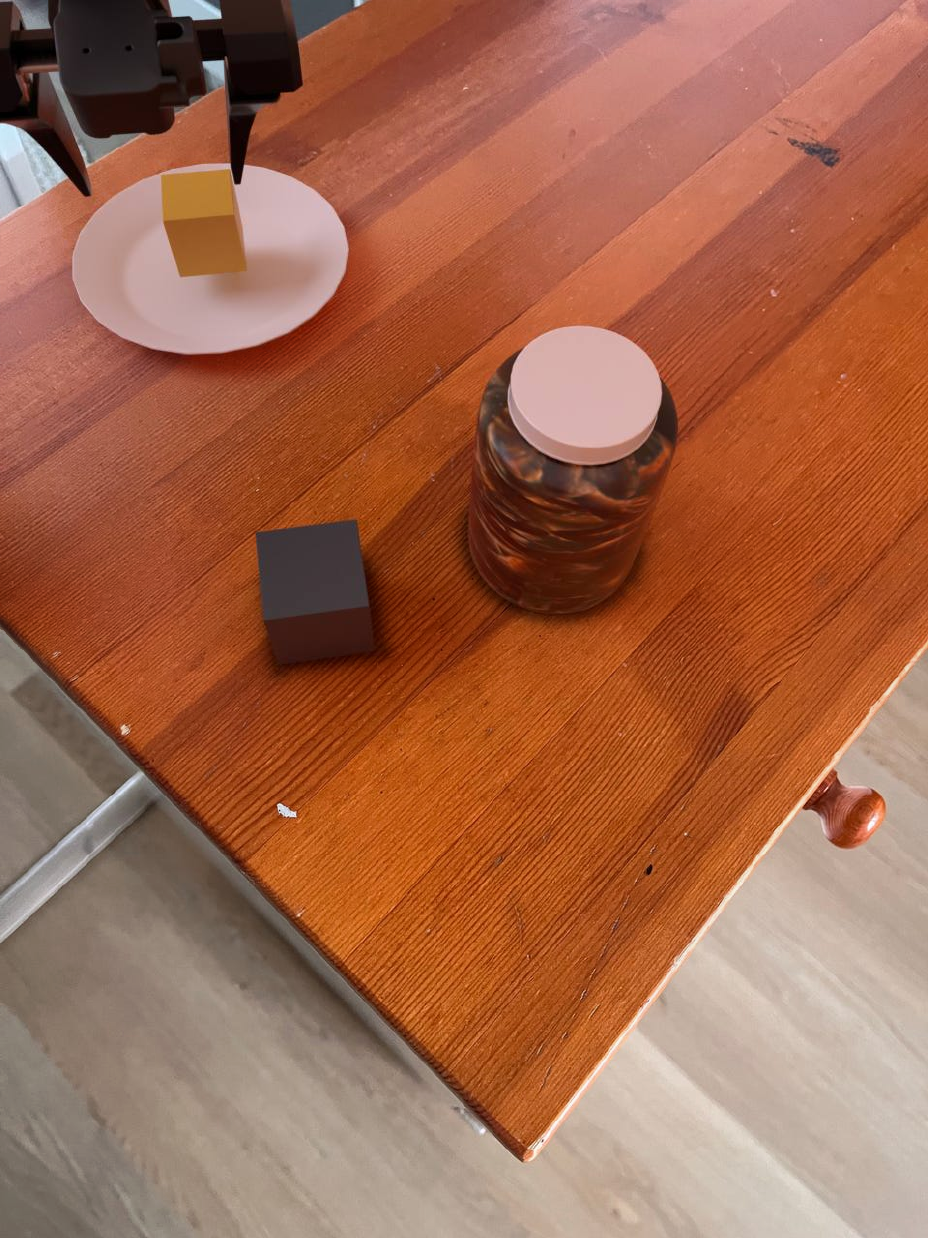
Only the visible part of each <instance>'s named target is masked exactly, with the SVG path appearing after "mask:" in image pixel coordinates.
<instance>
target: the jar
mask: <svg viewBox="0 0 928 1238" xmlns="http://www.w3.org/2000/svg"><path fill="white" fill-rule="evenodd" d="M475 425H476V426H475V432H474V433H475V435H474V444H473V454H472V467H471V477H470V491H469V492H470V493H469V502H468V503H469V505H468V520H467V541H468V548H469V553H470V556H471V559H472V561H473V565H474V567H475V568H476V570H477V572H478V573H479V575H480V577H481V578H482V579H483V580H484V582H485V584H487V586H488V587H489V588H491V589H492V590H493V592H495V594H497V595H498V596H500V597H501V598H502V599H504V600H505V601H506V602H508V603H511V604H512V605H514V606H516V607H518V608H521V609H524V610H527V611H530V612H533V613H538V614H544V615H570V614H575V613H579V612H584V611H586V610H589V609H591V608H593V607H596V606H597V605H599V604H601V603H603V602H605V600H607V599H609V598H610V597H611V596H612V595H613V594H615V592H616V591H617V590H618V589H619V588H620V587H621V586H622V584H623V583H624V582H625V580H626V578H627V577H628V576H629V574H630V573H631V570H632V567H633V565H634V563H635V560H636V558H637V556H638V553H639V551H640V548H641V547H642V544H643V541H644V539H645V537H646V534H647V531H648V528H649V526H650V523H651V520H652V518H653V515H654V513H655V510H656V508H657V505H658V502H659V500H660V497H661V495H662V492H663V489H664V487H665V484H666V481H667V478H668V475H669V472H670V469H671V466H672V463H673V459H674V456H675V452H676V448H677V442H678V437H679V436H678V435H679V419H678V411H677V408H676V404H675V401H674V399H673V396H672V394H671V391H670V389H669V388H668V386H667V384H666V383H665V381H664V380H663V378H662V377H661V375H660V374H659V371H658V369H657V367H656V366H655V363H654V362H653V360H652V359H651V358H650V357H649V355H648V354H647V353H646V352H645V351H644V350H643V349H642V348H641V347H640V346H639V345H638V344H636V343H635V342H634V341H632V340H631V339H629V338H628V337H626V336H623V334H622V335H621V334H620V333H618V332H615V331H612V330H609V329H606V328H602V327H597V326H591V325H571V326H562V327H558V328H555V329H551V330H549V331H546V332H544V333H542V334H541V335H539V336H537V337H536V338H534V339H532V340H531V341H530V342H529V343H527V345H525V346H524V347H522V348H520V349H519V350H517V351H516V352H514V353H513V354H511V355H510V356H509V357H508V358H506V359H504V361H503V362H502V363H501V364H500V365H499V366H498V367H497V368H496V370H495V371H494V372H493V374H492V375H491V376H490V378H489V379H488V381H487V384H486V385H485V387H484V390H483V393H482V397H481V400H480V402H479V407H478V412H477V420H476V424H475Z"/></svg>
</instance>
